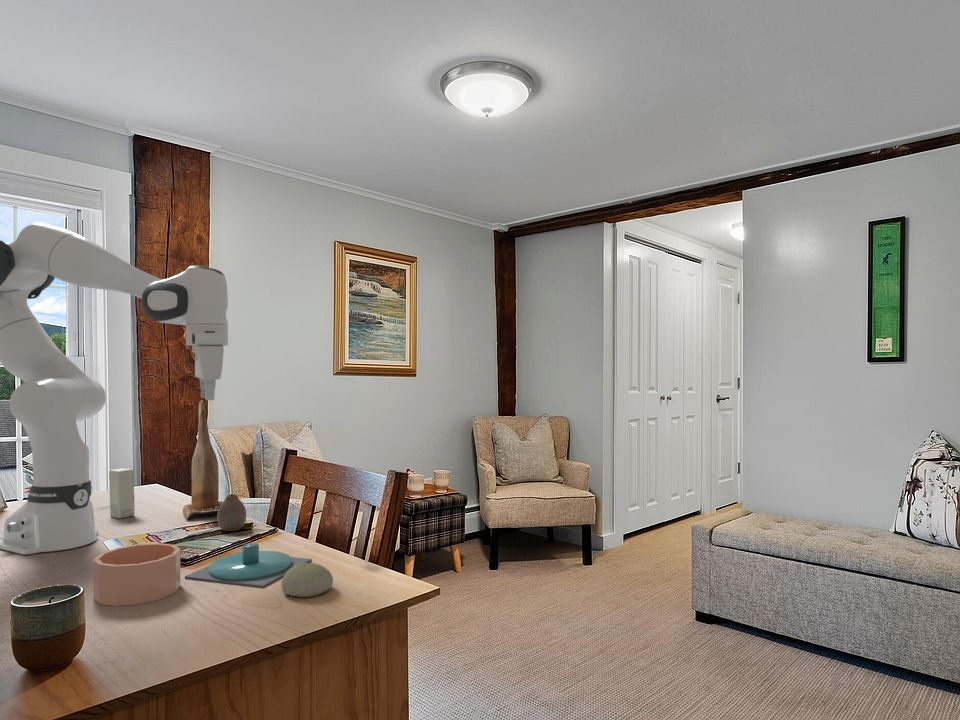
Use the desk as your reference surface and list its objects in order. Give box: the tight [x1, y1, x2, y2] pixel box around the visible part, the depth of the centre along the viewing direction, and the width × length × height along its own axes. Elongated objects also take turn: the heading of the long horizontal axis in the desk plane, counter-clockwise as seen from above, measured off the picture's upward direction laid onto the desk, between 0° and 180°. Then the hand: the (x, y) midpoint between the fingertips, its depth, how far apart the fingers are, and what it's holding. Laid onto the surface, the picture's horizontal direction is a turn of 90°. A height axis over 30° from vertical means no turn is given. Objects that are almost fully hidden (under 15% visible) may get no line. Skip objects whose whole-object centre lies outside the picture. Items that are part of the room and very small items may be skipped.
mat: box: [184, 551, 312, 589], centre depth 134 cm, size 18×17×1 cm
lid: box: [208, 542, 292, 581], centre depth 134 cm, size 16×16×4 cm
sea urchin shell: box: [281, 562, 334, 598], centre depth 122 cm, size 9×8×8 cm
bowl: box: [93, 542, 181, 607], centre depth 122 cm, size 14×14×7 cm
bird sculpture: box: [182, 399, 223, 522], centre depth 181 cm, size 11×12×32 cm
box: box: [108, 467, 136, 519], centre depth 179 cm, size 5×4×13 cm
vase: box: [216, 493, 247, 532], centre depth 165 cm, size 7×7×9 cm
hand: (207, 399), depth 148 cm, fingers open, 8 cm apart
